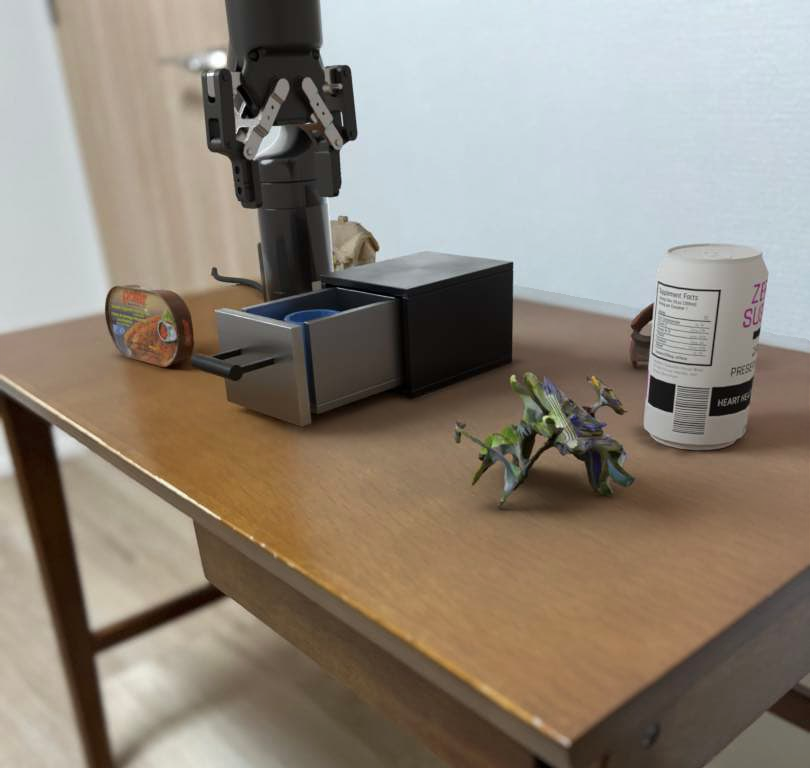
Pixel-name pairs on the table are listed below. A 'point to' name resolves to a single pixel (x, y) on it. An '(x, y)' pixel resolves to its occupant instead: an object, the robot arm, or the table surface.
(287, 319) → the blue cup
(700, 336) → the supplement can
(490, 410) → the table surface
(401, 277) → the black drawer cabinet
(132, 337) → the tin
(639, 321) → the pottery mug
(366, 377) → the dish drawer
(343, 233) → the ceramic model
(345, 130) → the robot arm
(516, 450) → the passion flower
